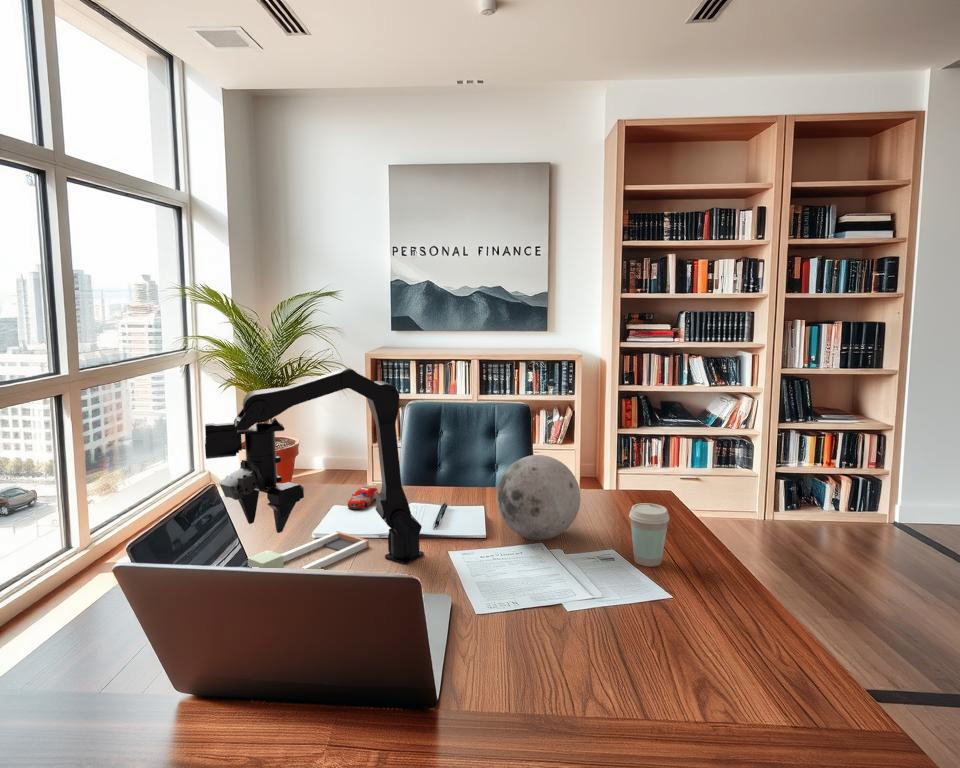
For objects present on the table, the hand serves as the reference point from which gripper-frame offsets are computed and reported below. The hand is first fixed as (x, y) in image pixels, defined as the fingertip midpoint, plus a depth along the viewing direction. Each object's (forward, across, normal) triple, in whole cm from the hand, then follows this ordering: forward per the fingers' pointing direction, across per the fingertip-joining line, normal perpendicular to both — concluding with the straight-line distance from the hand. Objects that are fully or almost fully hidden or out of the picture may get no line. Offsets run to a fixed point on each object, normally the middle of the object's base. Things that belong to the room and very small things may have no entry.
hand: (265, 527), depth 131 cm
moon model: (+11, +35, +51) cm, 63 cm away
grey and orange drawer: (+11, 0, +21) cm, 24 cm away
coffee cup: (+11, +62, +52) cm, 82 cm away
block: (+11, 0, 0) cm, 11 cm away
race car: (+12, -18, +46) cm, 51 cm away
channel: (+11, 0, +14) cm, 18 cm away
